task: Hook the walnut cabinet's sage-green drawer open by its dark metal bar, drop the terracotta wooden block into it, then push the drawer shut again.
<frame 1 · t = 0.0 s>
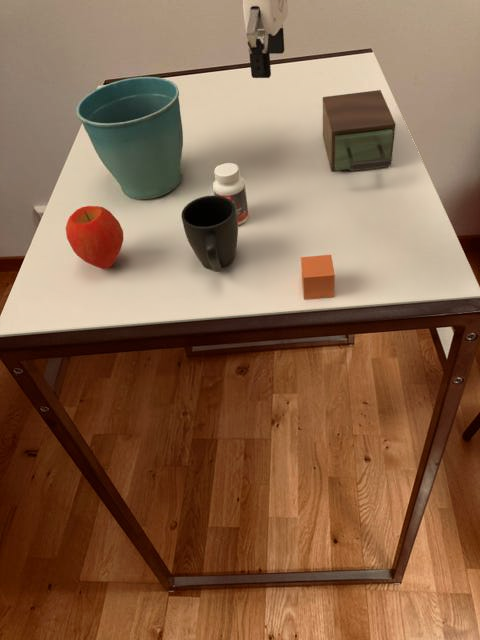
hand: (268, 64, 87), 18 cm above the table, tool pointing down, fingers open, 9 cm apart
cabinet: (355, 149, 100), on the table
block: (317, 287, 76), on the table
apple: (107, 265, 85), on the table
drawer: (360, 143, 94), point 4 cm above the table, slide at 0.0 cm, touching cabinet
flower pot: (151, 183, 101), on the table
pill bottle: (234, 218, 90), on the table
mug: (218, 267, 82), on the table
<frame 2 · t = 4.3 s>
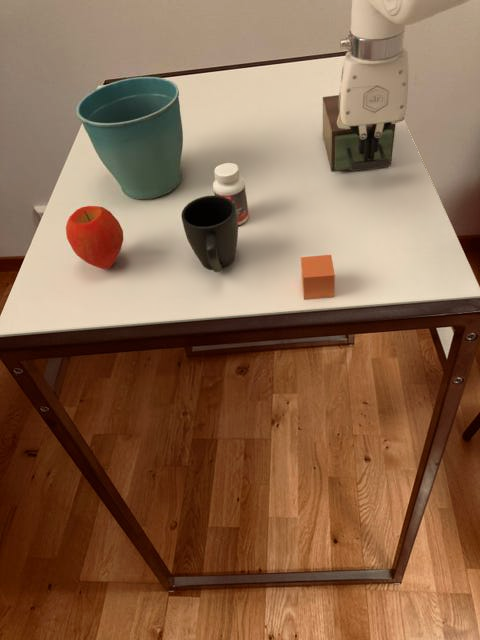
hand: (367, 155, 88), 5 cm above the table, tool pointing down, fingers closed
drawer: (360, 143, 94), point 4 cm above the table, slide at 0.0 cm, touching gripper
everything else where it was.
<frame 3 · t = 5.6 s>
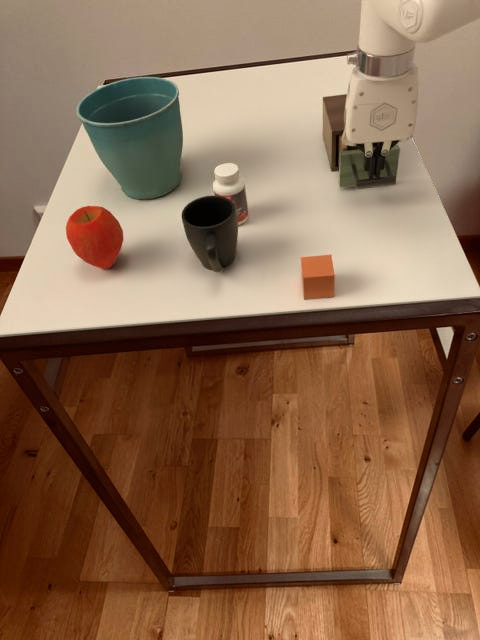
hand: (372, 173, 84), 5 cm above the table, tool pointing down, fingers closed
drawer: (365, 158, 90), point 4 cm above the table, slide at 5.5 cm, touching gripper
everything else where it was.
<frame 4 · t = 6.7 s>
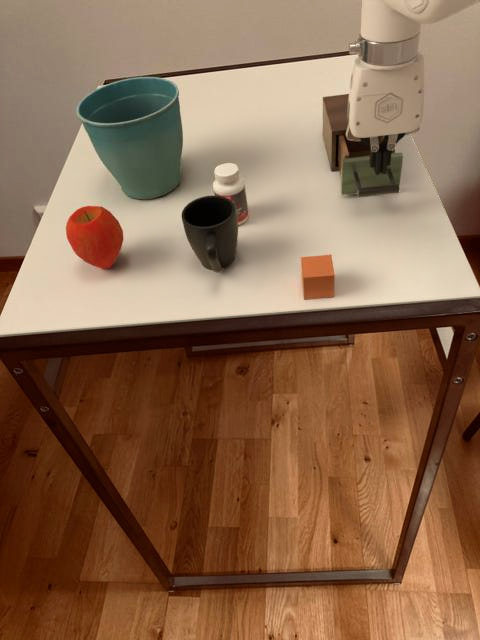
hand: (379, 169, 81), 8 cm above the table, tool pointing down, fingers closed
drawer: (368, 166, 88), point 4 cm above the table, slide at 7.9 cm
everything else where it was.
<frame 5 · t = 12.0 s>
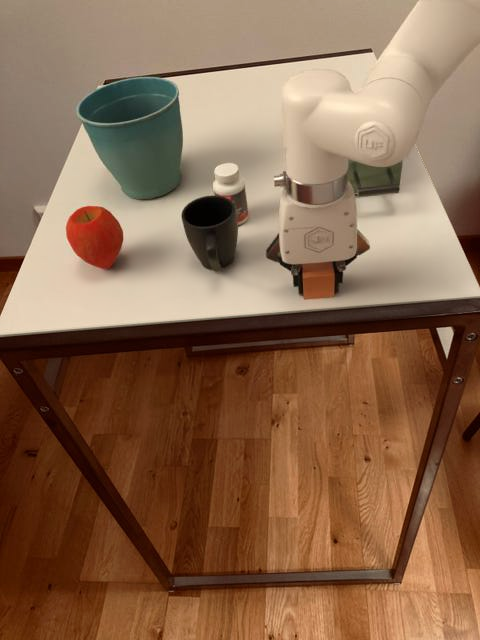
hand: (317, 286, 75), 0 cm above the table, tool pointing down, fingers closed on block, 4 cm apart
block: (317, 287, 76), on the table, touching gripper
everything else where it was.
when the fingers open (7 cm above the table, at t = 18.2 s): block drops 5 cm, resting on drawer.
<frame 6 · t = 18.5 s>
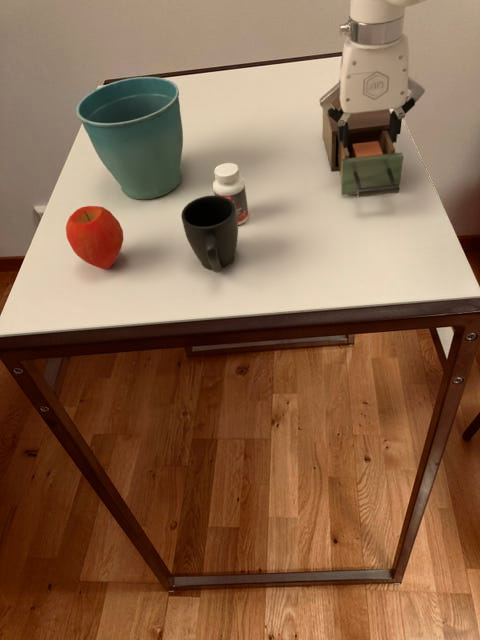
hand: (368, 140, 86), 8 cm above the table, tool pointing down, fingers open, 7 cm apart
block: (365, 171, 91), point 2 cm above the table, touching drawer
drawer: (368, 166, 88), point 4 cm above the table, slide at 7.9 cm, touching block
everything else where it was.
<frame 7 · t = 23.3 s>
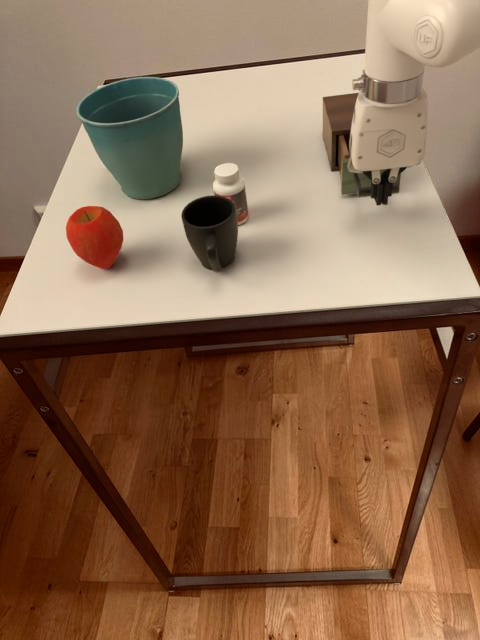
hand: (380, 199, 81), 5 cm above the table, tool pointing down, fingers closed
drawer: (368, 166, 88), point 4 cm above the table, slide at 7.8 cm, touching block, gripper
everything else where it was.
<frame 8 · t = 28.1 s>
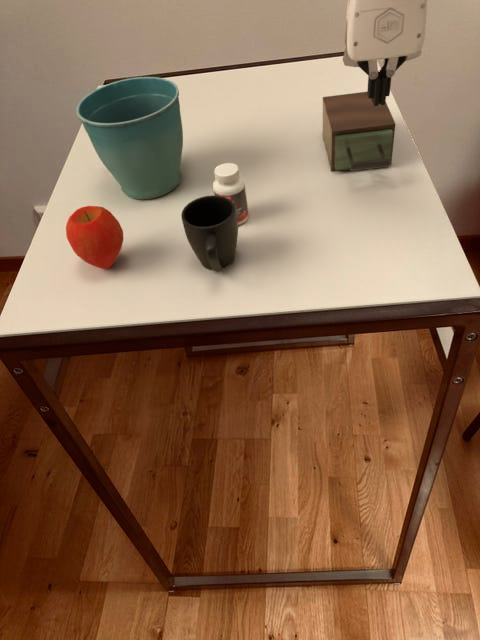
hand: (377, 101, 76), 17 cm above the table, tool pointing down, fingers closed
block: (358, 148, 96), point 2 cm above the table, touching drawer
drawer: (360, 143, 94), point 4 cm above the table, slide at 0.0 cm, touching block, cabinet
everything else where it was.
at the end: drawer pulled out 7.9 cm at the most during the clip, back to where it started at the end; block inside the target area in the cabinet (3.2 cm from its centre), point 2.0 cm above the cabinet's base; drawer slide at 0.0 cm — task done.
